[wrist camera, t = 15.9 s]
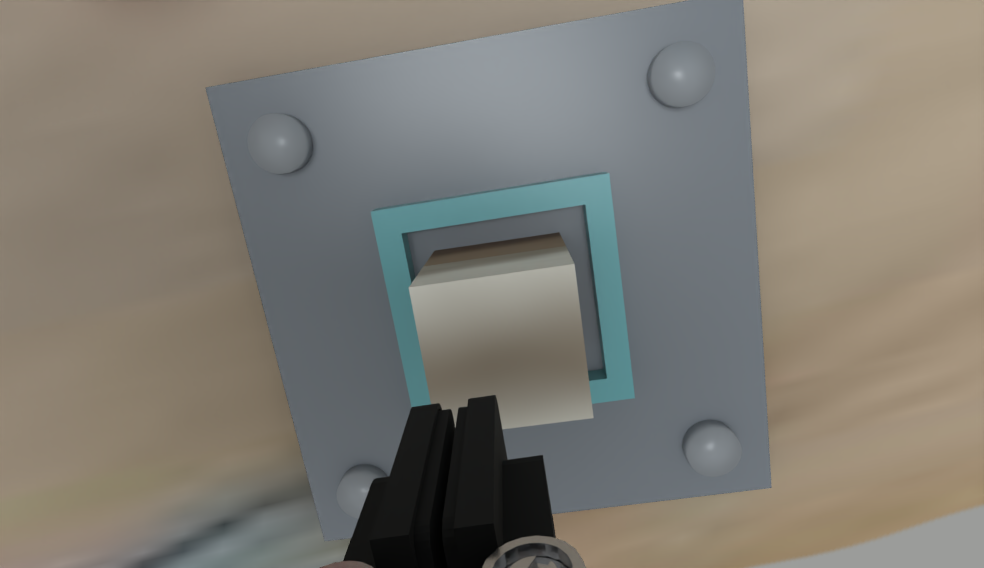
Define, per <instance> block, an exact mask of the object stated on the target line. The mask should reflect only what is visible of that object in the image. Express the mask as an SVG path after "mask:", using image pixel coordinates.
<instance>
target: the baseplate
mask: <svg viewBox="0 0 984 568" xmlns="http://www.w3.org/2000/svg"><path fill="white" fill-rule="evenodd" d="M206 92H207V96H208V99H209V103H210V107H211V111H212V115H213V118H214V122H215V126H216V130H217V134H218V137H219V141H220V145H221V149H222V153H223V156H224V160H225V164H226V168H227V172H228V175H229V179H230V183H231V187H232V191H233V195H234V198H235V202H236V206H237V210H238V214H239V217H240V221H241V225H242V229H243V233H244V236H245V240H246V244H247V248H248V252H249V255H250V259H251V263H252V267H253V271H254V274H255V278H256V282H257V286H258V290H259V293H260V297H261V301H262V305H263V309H264V312H265V316H266V320H267V324H268V328H269V331H270V335H271V339H272V343H273V347H274V350H275V354H276V358H277V362H278V366H279V369H280V373H281V377H282V381H283V385H284V388H285V392H286V396H287V400H288V404H289V408H290V411H291V415H292V419H293V423H294V427H295V430H296V434H297V438H298V442H299V446H300V449H301V453H302V457H303V461H304V465H305V468H306V472H307V476H308V480H309V484H310V487H311V491H312V495H313V499H314V503H315V506H316V510H317V514H318V518H319V522H320V525H321V529H322V533H323V537H324V541H330V540H339V539H347V538H352V535H353V533H354V530H355V527H356V524H357V522H358V519H359V516H360V513H361V510H362V508H363V505H364V502H365V499H366V497H367V494H368V491H369V488H370V486H371V483H372V481H373V480H374V479H376V478H381V477H388V476H390V473H391V469H392V466H393V463H394V460H395V457H396V454H397V451H398V447H399V444H400V441H401V438H402V435H403V432H404V428H405V425H406V422H407V419H408V416H409V413H410V410H411V408H412V407H415V406H422V405H429V404H431V401H430V396H429V391H428V386H427V380H426V375H425V370H424V365H423V360H422V355H421V349H420V344H419V339H418V334H417V329H416V324H415V318H414V313H413V308H412V303H411V298H410V292H409V286H410V285H411V283H412V282H413V281H414V279H415V278H416V276H417V275H418V273H419V272H420V271H421V269H422V268H423V266H424V265H425V264H426V262H427V261H428V259H429V258H430V256H431V255H432V254H433V252H434V251H435V250H442V249H449V248H456V247H463V246H470V245H476V244H483V243H490V242H497V241H504V240H511V239H517V238H524V237H531V236H538V235H545V234H552V233H558V232H559V233H560V235H561V237H562V239H563V241H564V243H565V245H566V247H567V249H568V251H569V253H570V256H571V258H572V260H573V262H574V264H575V272H576V280H577V288H578V296H579V304H580V312H581V320H582V328H583V336H584V344H585V352H586V360H587V368H588V377H589V385H590V393H591V401H592V409H593V417H594V418H591V419H583V420H574V421H566V422H558V423H550V424H542V425H534V426H526V427H518V428H510V429H502V430H503V436H504V442H505V448H506V453H507V459H508V460H509V459H516V458H523V457H531V456H538V455H543V459H544V465H545V471H546V478H547V484H548V490H549V497H550V503H551V510H552V514H556V513H565V512H573V511H581V510H590V509H598V508H607V507H615V506H623V505H632V504H640V503H648V502H657V501H665V500H674V499H682V498H690V497H699V496H707V495H715V494H724V493H732V492H741V491H749V490H757V489H766V488H771V472H770V455H769V437H768V420H767V403H766V386H765V369H764V351H763V334H762V317H761V300H760V283H759V265H758V248H757V231H756V214H755V197H754V179H753V162H752V145H751V128H750V111H749V93H748V76H747V59H746V42H745V25H744V7H743V0H689V1H683V2H677V3H672V4H666V5H661V6H655V7H650V8H644V9H639V10H633V11H628V12H622V13H617V14H611V15H605V16H600V17H594V18H589V19H583V20H578V21H572V22H567V23H561V24H556V25H550V26H544V27H539V28H533V29H528V30H522V31H517V32H511V33H506V34H500V35H495V36H489V37H483V38H478V39H472V40H467V41H461V42H456V43H450V44H445V45H439V46H434V47H428V48H423V49H417V50H411V51H406V52H400V53H395V54H389V55H384V56H378V57H373V58H367V59H362V60H356V61H350V62H345V63H339V64H334V65H328V66H323V67H317V68H312V69H306V70H301V71H295V72H290V73H284V74H278V75H273V76H267V77H262V78H256V79H251V80H245V81H240V82H234V83H229V84H223V85H217V86H212V87H206Z"/></svg>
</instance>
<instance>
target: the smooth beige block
mask: <svg viewBox="0 0 984 568" xmlns="http://www.w3.org/2000/svg"><path fill="white" fill-rule="evenodd" d="M409 292H410V298H411V303H412V308H413V313H414V318H415V324H416V329H417V334H418V339H419V344H420V349H421V355H422V360H423V365H424V370H425V375H426V380H427V386H428V391H429V396H430V401H431V404H436V403H440V405H441V408H442V410H446V409H451V410H452V413H453V418H454V423H455V428H456V421H457V414H458V408H459V407H466V406H467V404H468V399H470V398H477V397H484V396H491V395H496V398H497V402H498V407H499V413H500V419H501V425H502V429H510V428H518V427H526V426H534V425H542V424H550V423H558V422H566V421H574V420H583V419H591V418H594V417H593V409H592V401H591V393H590V385H589V377H588V368H587V360H586V352H585V344H584V336H583V328H582V320H581V312H580V304H579V296H578V288H577V280H576V272H575V264H574V262H573V260H572V258H571V256H570V253H569V251H568V249H567V247H566V245H565V243H564V241H563V239H562V237H561V235H560V233H559V232H558V233H552V234H545V235H538V236H531V237H524V238H517V239H511V240H504V241H497V242H490V243H483V244H476V245H470V246H463V247H456V248H449V249H442V250H435V251H434V252H433V254H432V255H431V256H430V258H429V259H428V261H427V262H426V264H425V265H424V266H423V268H422V269H421V271H420V272H419V273H418V275H417V276H416V278H415V279H414V281H413V282H412V283H411V285H410V286H409Z"/></svg>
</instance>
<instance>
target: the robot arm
mask: <svg viewBox="0 0 984 568" xmlns="http://www.w3.org/2000/svg"><path fill="white" fill-rule="evenodd" d="M320 568H586V567H585V564H584V562H583V559H582V558H581V556H580V555H579V553H578V552H577V550H576V549H575V548H574V547H572V546H571V545H569V544H568V543H566V542H565V541H562V540H559V539H556V537H555V530H554V523H553V516H552V510H551V503H550V497H549V490H548V484H547V478H546V471H545V465H544V459H543V455H538V456H531V457H523V458H516V459H509V460H508V459H507V453H506V448H505V442H504V436H503V430H502V425H501V419H500V413H499V407H498V402H497V398H496V395H491V396H484V397H477V398H470V399H468V404H467V406H466V407H459V408H458V414H457V421H456V428H455V423H454V418H453V413H452V410H451V409H446V410H442V408H441V405H440V403H436V404H429V405H422V406H415V407H412V408H411V410H410V413H409V416H408V419H407V422H406V425H405V428H404V432H403V435H402V438H401V441H400V444H399V447H398V451H397V454H396V457H395V460H394V463H393V466H392V469H391V473H390V476H388V477H381V478H376V479H374V480H373V481H372V483H371V486H370V488H369V491H368V494H367V497H366V499H365V502H364V505H363V508H362V510H361V513H360V516H359V519H358V522H357V524H356V527H355V530H354V533H353V535H352V538H351V541H350V544H349V546H348V549H347V552H346V555H345V557H344V560H343V562H335V563H332V564H329V565H326V566H323V567H320Z"/></svg>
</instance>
